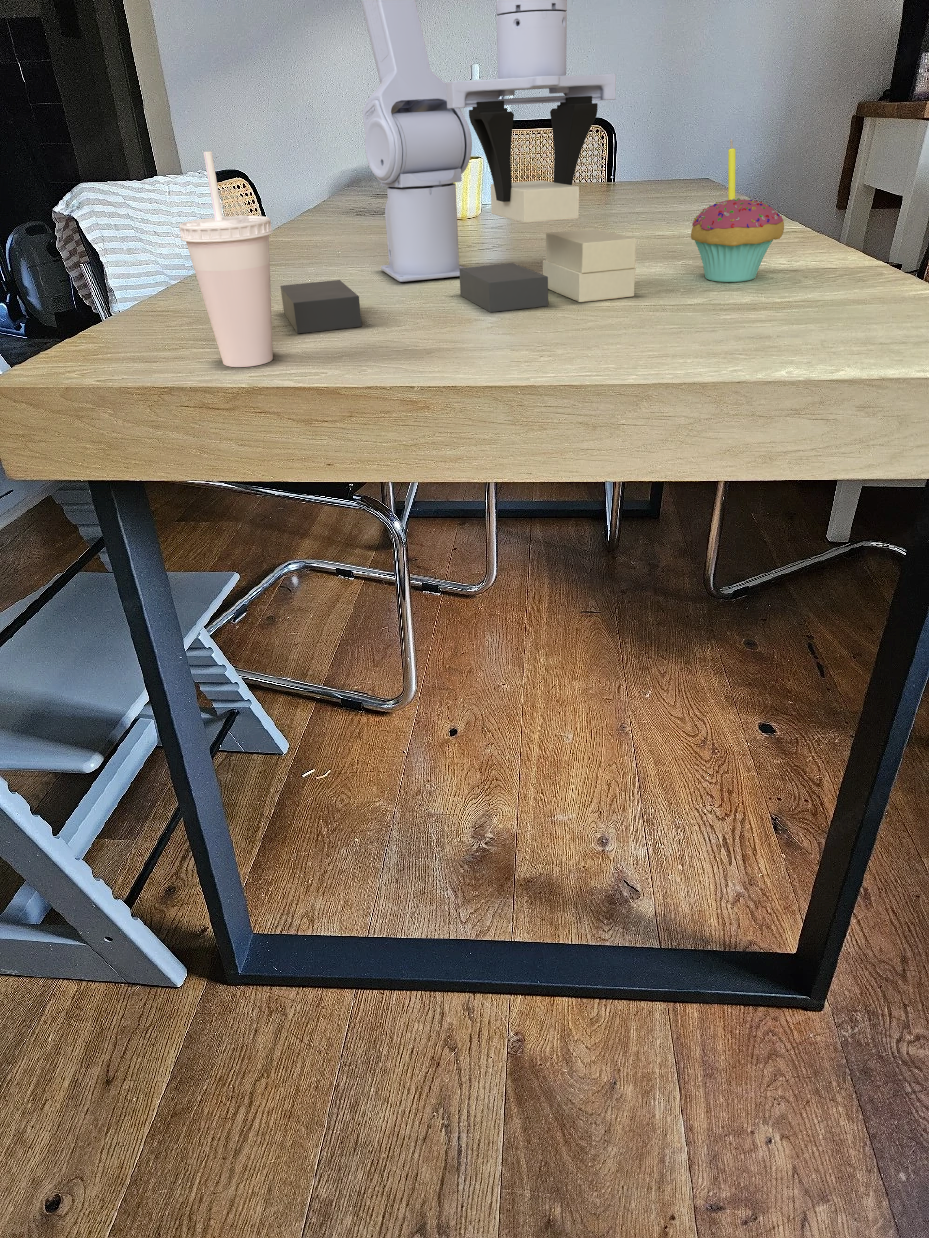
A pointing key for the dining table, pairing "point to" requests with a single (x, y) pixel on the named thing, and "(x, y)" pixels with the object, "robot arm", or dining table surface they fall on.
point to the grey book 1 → (321, 306)
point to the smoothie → (233, 278)
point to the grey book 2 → (503, 287)
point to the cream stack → (590, 264)
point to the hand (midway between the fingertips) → (532, 198)
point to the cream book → (538, 202)
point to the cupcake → (735, 233)
